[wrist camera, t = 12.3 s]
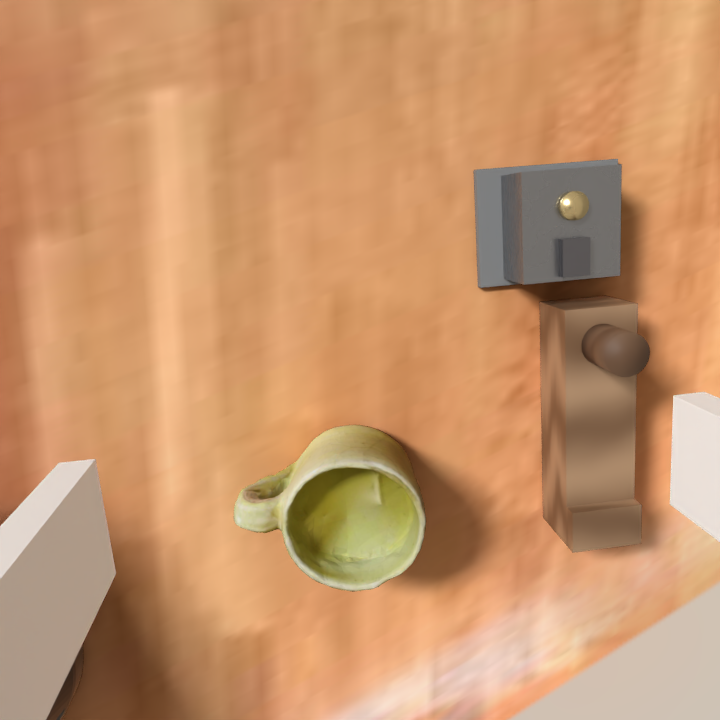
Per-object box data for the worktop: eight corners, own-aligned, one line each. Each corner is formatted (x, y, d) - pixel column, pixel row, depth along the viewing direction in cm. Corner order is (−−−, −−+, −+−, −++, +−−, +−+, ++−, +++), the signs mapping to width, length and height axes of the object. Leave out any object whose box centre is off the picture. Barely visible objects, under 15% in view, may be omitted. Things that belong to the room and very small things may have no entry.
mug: (451, 422, 46) (442, 514, 38) (408, 525, 51) (392, 628, 42) (288, 369, 47) (242, 447, 38) (261, 476, 52) (215, 568, 43)
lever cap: (592, 270, 46) (625, 276, 42) (503, 278, 46) (527, 285, 41) (592, 168, 45) (627, 163, 40) (500, 175, 44) (525, 171, 40)
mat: (478, 286, 46) (480, 287, 46) (473, 170, 45) (476, 169, 44) (612, 274, 47) (616, 275, 47) (613, 159, 45) (617, 158, 45)
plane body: (604, 509, 51) (660, 562, 44) (542, 517, 51) (588, 571, 43) (605, 295, 48) (667, 311, 40) (539, 301, 47) (589, 318, 39)
